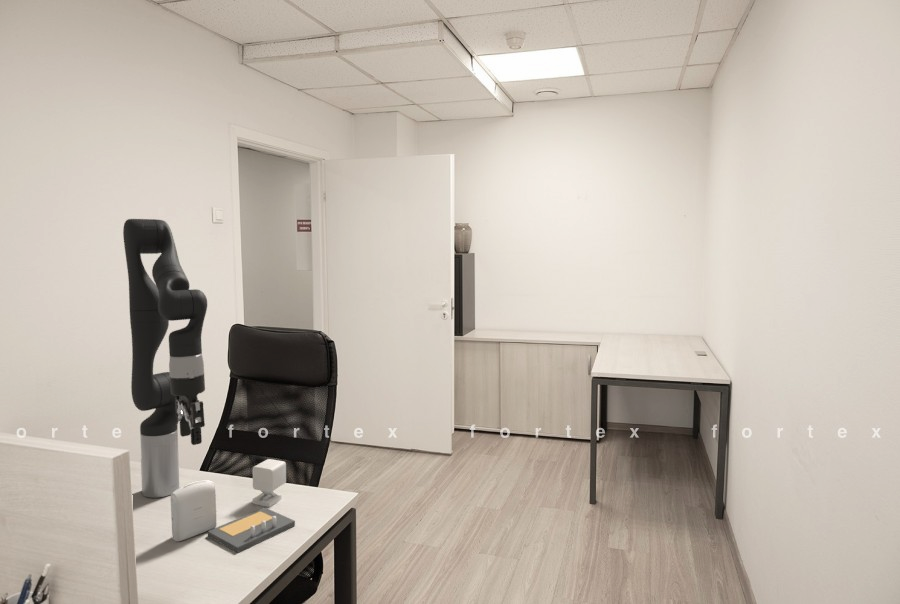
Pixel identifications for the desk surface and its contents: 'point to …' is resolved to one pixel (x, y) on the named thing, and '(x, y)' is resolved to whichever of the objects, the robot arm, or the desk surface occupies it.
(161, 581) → the desk surface
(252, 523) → the charging dock
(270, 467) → the security camera
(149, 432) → the robot arm
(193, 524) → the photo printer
